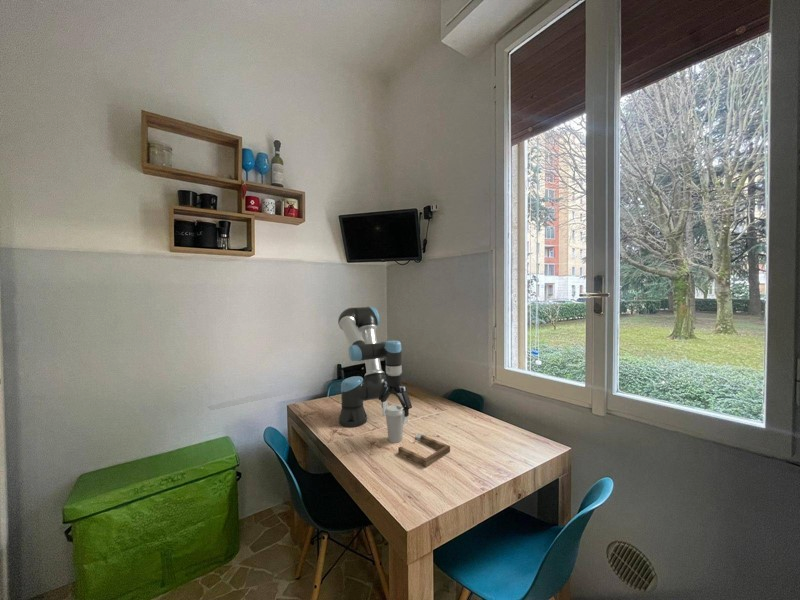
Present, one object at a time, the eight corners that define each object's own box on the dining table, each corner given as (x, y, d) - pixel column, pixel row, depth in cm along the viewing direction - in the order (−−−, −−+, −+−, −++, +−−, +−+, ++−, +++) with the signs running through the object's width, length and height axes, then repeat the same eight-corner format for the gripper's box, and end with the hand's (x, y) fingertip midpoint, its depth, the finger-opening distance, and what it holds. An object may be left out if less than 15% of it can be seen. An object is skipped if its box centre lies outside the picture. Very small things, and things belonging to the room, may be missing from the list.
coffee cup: (403, 445, 138) (402, 412, 137) (383, 443, 140) (382, 411, 139) (407, 435, 147) (406, 404, 147) (388, 434, 149) (387, 403, 149)
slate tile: (415, 439, 143) (415, 436, 143) (418, 435, 147) (418, 433, 147) (422, 440, 141) (422, 438, 141) (426, 437, 145) (426, 435, 145)
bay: (398, 453, 130) (398, 447, 130) (422, 440, 142) (422, 434, 142) (426, 467, 120) (426, 461, 120) (450, 451, 131) (450, 446, 131)
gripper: (370, 371, 149) (371, 414, 149) (407, 380, 131) (408, 429, 132) (382, 368, 154) (383, 410, 155) (419, 376, 137) (420, 423, 137)
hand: (394, 419), depth 143 cm, fingers open, 13 cm apart
